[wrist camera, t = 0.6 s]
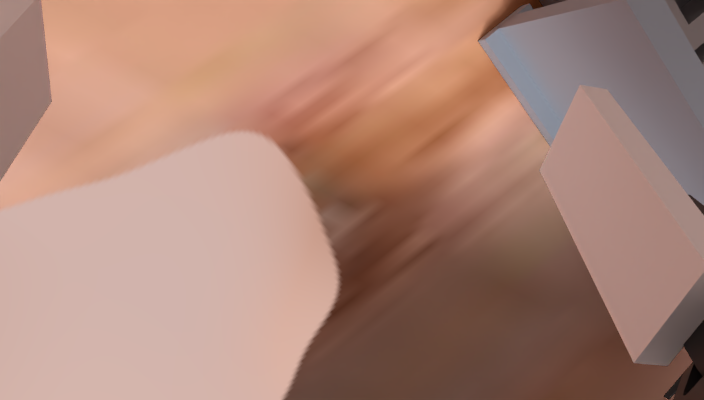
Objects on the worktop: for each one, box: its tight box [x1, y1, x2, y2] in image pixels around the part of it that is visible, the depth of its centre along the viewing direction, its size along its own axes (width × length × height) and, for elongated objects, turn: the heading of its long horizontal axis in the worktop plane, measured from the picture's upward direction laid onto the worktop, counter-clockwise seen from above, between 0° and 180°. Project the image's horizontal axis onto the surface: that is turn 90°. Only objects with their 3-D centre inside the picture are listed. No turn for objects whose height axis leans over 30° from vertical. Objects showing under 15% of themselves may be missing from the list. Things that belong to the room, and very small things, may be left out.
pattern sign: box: [478, 0, 704, 205], centre depth 30 cm, size 22×3×12 cm, turn 38°
